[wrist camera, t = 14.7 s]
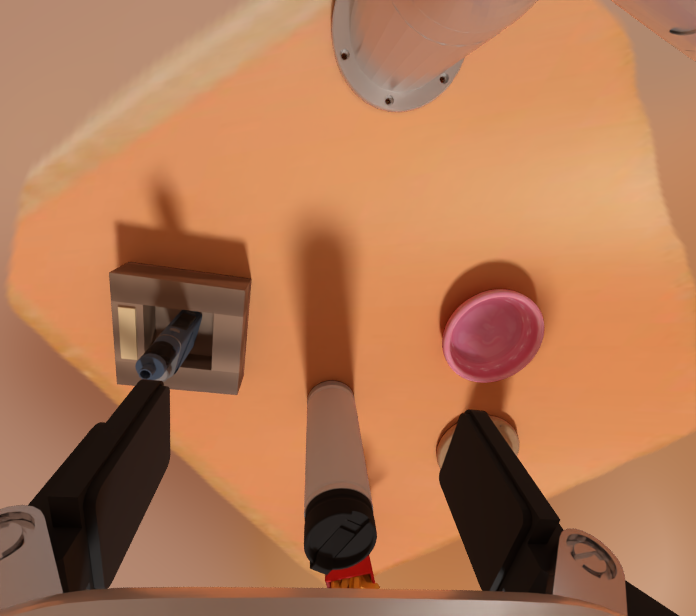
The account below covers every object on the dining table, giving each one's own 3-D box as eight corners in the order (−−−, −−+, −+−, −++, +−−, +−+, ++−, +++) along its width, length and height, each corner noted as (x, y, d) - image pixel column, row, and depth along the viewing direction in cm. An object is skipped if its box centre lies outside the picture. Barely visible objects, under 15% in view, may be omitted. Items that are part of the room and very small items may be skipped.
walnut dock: (128, 261, 38) (108, 273, 35) (251, 278, 40) (244, 291, 36) (133, 365, 43) (116, 385, 39) (243, 375, 45) (236, 396, 41)
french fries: (329, 540, 58) (334, 658, 44) (319, 505, 55) (321, 621, 41) (382, 529, 58) (403, 644, 44) (375, 494, 55) (396, 605, 41)
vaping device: (205, 310, 40) (164, 366, 29) (194, 348, 42) (151, 415, 31) (182, 302, 40) (131, 357, 29) (171, 342, 41) (119, 408, 30)
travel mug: (296, 406, 48) (285, 561, 29) (325, 371, 46) (332, 512, 27) (334, 426, 49) (346, 584, 31) (363, 393, 48) (394, 539, 29)
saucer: (439, 377, 48) (447, 391, 45) (433, 292, 43) (442, 302, 40) (528, 361, 48) (542, 374, 45) (533, 275, 43) (548, 283, 41)
